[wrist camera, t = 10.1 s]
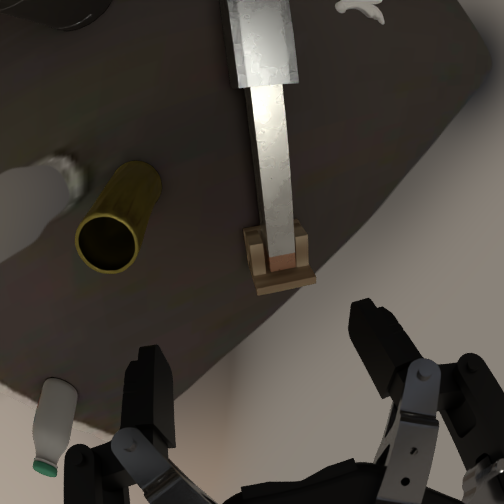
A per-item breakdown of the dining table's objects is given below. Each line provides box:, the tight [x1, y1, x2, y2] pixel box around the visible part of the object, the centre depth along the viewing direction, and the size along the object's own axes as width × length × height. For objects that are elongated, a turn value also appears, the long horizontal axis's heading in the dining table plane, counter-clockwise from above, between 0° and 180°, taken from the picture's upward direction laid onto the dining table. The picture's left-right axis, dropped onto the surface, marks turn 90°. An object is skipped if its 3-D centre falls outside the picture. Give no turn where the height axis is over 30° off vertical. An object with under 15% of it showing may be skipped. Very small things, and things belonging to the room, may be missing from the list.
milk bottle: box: [33, 378, 78, 477], centre depth 40 cm, size 8×8×20 cm
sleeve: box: [219, 0, 299, 88], centre depth 24 cm, size 11×5×7 cm, turn 7°
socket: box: [243, 219, 316, 296], centre depth 37 cm, size 5×7×7 cm
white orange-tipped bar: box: [244, 84, 296, 272], centre depth 32 cm, size 22×3×4 cm, turn 7°
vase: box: [75, 161, 162, 274], centre depth 27 cm, size 6×6×14 cm
